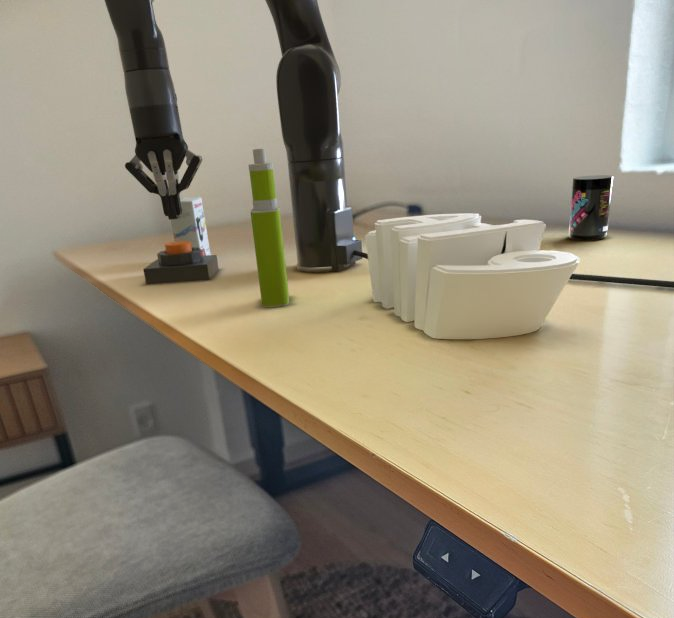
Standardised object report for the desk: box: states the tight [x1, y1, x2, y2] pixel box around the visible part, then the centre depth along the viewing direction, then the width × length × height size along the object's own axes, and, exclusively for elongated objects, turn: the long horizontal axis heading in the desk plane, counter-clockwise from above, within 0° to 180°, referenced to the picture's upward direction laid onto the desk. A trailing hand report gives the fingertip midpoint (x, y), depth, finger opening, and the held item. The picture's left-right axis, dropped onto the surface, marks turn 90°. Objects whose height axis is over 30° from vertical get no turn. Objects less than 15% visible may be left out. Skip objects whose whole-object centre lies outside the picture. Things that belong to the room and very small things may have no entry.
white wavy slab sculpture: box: [364, 212, 581, 340], centre depth 81 cm, size 35×16×10 cm, turn 14°
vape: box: [248, 148, 290, 308], centre depth 90 cm, size 4×6×20 cm, turn 2°
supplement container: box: [568, 174, 614, 242], centre depth 119 cm, size 7×7×10 cm
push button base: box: [143, 247, 220, 285], centre depth 115 cm, size 11×9×4 cm
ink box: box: [170, 196, 212, 256], centre depth 126 cm, size 9×5×12 cm, turn 179°
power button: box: [164, 241, 192, 254], centre depth 114 cm, size 4×4×2 cm
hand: (174, 218), depth 112 cm, fingers closed
